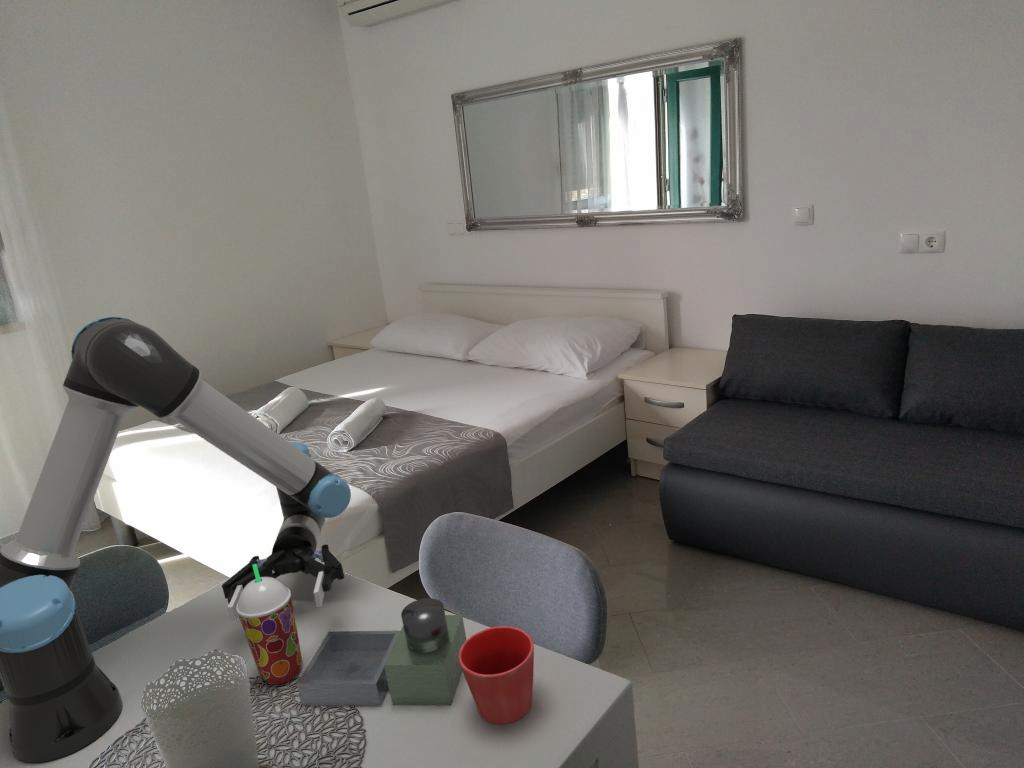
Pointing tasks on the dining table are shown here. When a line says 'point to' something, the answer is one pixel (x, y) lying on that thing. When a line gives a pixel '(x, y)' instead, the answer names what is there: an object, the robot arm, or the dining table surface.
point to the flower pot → (499, 672)
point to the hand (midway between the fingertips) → (274, 607)
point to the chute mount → (389, 662)
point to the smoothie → (270, 628)
